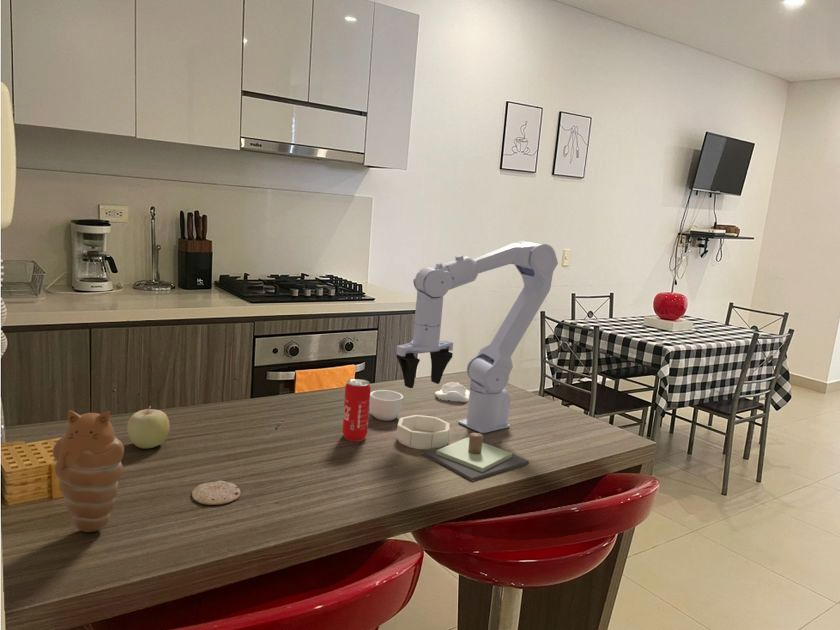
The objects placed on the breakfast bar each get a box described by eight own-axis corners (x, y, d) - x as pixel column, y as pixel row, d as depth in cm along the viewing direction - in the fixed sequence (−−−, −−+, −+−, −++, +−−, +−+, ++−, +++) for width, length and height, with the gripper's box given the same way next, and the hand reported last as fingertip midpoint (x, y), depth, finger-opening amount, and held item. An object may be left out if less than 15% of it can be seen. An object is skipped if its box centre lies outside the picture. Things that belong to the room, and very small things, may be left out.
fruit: (176, 447, 120) (177, 407, 119) (137, 456, 115) (137, 414, 113) (158, 435, 125) (158, 396, 124) (120, 443, 120) (120, 402, 118)
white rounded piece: (451, 389, 158) (427, 379, 165) (450, 406, 159) (425, 395, 166) (480, 384, 164) (455, 375, 172) (478, 401, 165) (454, 390, 173)
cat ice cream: (46, 546, 85) (43, 419, 82) (68, 517, 93) (66, 399, 89) (116, 545, 87) (116, 420, 83) (132, 516, 94) (132, 401, 91)
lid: (467, 440, 134) (469, 421, 134) (512, 456, 128) (514, 436, 127) (436, 454, 126) (437, 433, 125) (482, 472, 119) (484, 450, 118)
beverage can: (362, 443, 130) (366, 387, 127) (338, 439, 131) (342, 383, 128) (369, 434, 135) (373, 380, 132) (346, 431, 136) (350, 377, 133)
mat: (478, 440, 137) (479, 437, 137) (528, 463, 126) (528, 460, 126) (422, 454, 127) (423, 451, 127) (471, 481, 116) (472, 478, 116)
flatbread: (240, 505, 101) (240, 500, 100) (190, 508, 98) (190, 502, 98) (239, 483, 108) (240, 477, 108) (193, 485, 106) (193, 479, 106)
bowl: (425, 427, 142) (426, 412, 141) (458, 443, 134) (459, 428, 133) (387, 435, 135) (388, 420, 134) (419, 453, 127) (420, 437, 126)
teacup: (408, 418, 147) (410, 396, 146) (385, 425, 141) (387, 402, 140) (378, 407, 153) (379, 385, 152) (354, 413, 147) (356, 391, 146)
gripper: (440, 318, 143) (435, 376, 146) (389, 322, 134) (384, 383, 136) (461, 324, 138) (455, 384, 141) (410, 329, 129) (405, 392, 131)
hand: (422, 384), depth 138 cm, fingers open, 7 cm apart
